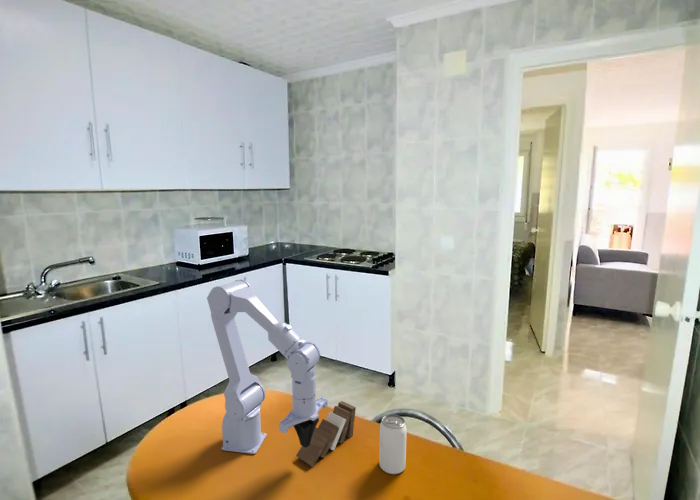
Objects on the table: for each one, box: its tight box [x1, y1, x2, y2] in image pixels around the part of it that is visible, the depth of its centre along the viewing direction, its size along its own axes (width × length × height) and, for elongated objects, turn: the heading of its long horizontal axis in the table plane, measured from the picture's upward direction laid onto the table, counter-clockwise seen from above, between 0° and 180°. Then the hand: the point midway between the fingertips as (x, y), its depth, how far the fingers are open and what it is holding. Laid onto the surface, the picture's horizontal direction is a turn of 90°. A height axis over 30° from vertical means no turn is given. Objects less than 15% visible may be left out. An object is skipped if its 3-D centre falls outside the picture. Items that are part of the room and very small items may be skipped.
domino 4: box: [337, 400, 357, 438], centre depth 103 cm, size 2×5×8 cm, turn 51°
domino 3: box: [317, 418, 339, 459], centre depth 96 cm, size 2×5×8 cm
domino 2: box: [325, 411, 346, 451], centre depth 99 cm, size 2×5×8 cm
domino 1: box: [295, 426, 331, 468], centre depth 93 cm, size 2×5×8 cm
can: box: [378, 413, 407, 475], centre depth 90 cm, size 6×6×12 cm
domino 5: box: [332, 405, 352, 444], centre depth 101 cm, size 2×5×8 cm, turn 51°
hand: (305, 444), depth 91 cm, fingers closed
